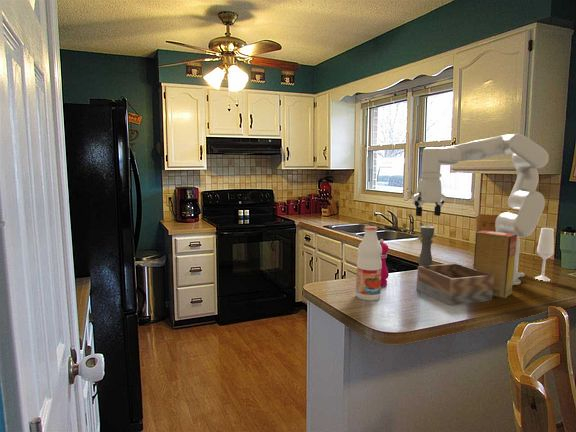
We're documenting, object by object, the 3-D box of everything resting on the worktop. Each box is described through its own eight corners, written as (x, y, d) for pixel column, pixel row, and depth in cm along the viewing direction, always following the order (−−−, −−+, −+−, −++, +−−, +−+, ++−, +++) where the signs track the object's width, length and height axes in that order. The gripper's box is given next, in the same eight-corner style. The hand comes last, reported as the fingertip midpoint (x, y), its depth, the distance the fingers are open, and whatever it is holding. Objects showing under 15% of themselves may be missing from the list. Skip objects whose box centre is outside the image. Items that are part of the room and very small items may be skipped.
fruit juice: (367, 292, 163) (370, 224, 160) (385, 298, 156) (388, 227, 152) (350, 296, 158) (353, 225, 154) (368, 302, 150) (371, 229, 147)
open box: (455, 285, 174) (456, 263, 173) (492, 300, 156) (494, 275, 154) (416, 289, 168) (417, 266, 166) (450, 305, 149) (452, 279, 148)
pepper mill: (375, 280, 179) (377, 236, 177) (390, 284, 175) (393, 239, 172) (368, 284, 174) (370, 239, 171) (383, 287, 169) (385, 241, 167)
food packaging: (512, 293, 164) (518, 233, 161) (505, 298, 158) (510, 236, 155) (479, 286, 174) (483, 229, 170) (470, 291, 167) (475, 232, 164)
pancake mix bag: (513, 272, 199) (518, 216, 195) (471, 266, 209) (475, 213, 206) (514, 269, 204) (519, 215, 201) (474, 263, 215) (478, 212, 211)
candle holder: (426, 285, 174) (430, 228, 171) (414, 281, 179) (417, 226, 176) (434, 282, 178) (437, 227, 175) (421, 279, 183) (425, 225, 180)
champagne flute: (546, 282, 182) (552, 230, 180) (531, 278, 188) (536, 228, 185) (553, 279, 186) (559, 229, 183) (538, 276, 192) (543, 227, 189)
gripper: (440, 176, 179) (438, 214, 181) (408, 176, 173) (406, 215, 175) (452, 176, 172) (450, 216, 174) (419, 176, 166) (416, 217, 168)
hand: (428, 215), depth 175 cm, fingers open, 9 cm apart
